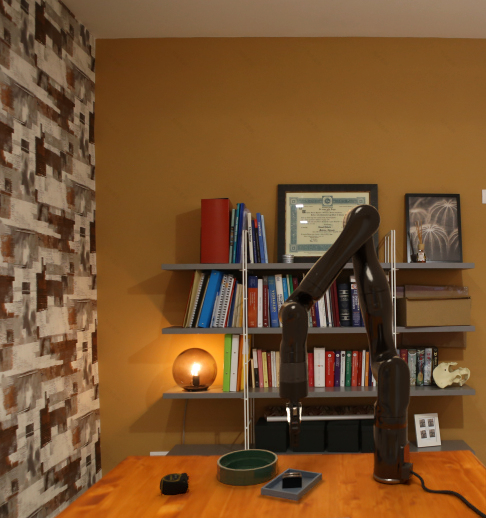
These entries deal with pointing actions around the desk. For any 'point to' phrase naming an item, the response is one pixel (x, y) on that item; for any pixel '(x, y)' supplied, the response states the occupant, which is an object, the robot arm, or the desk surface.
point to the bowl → (247, 467)
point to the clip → (291, 480)
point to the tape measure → (174, 483)
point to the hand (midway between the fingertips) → (294, 441)
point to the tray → (291, 493)
